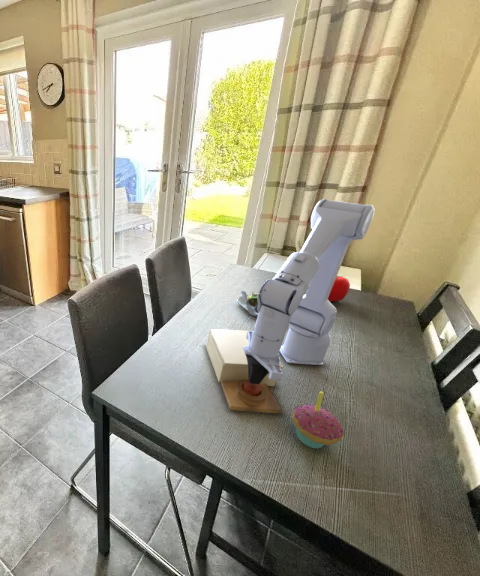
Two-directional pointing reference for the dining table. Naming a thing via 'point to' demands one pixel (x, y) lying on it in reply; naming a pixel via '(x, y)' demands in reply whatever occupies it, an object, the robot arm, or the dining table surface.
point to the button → (251, 388)
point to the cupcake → (316, 425)
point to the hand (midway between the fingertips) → (253, 381)
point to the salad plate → (249, 303)
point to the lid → (231, 346)
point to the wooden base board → (249, 398)
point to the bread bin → (229, 367)
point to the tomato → (339, 289)
